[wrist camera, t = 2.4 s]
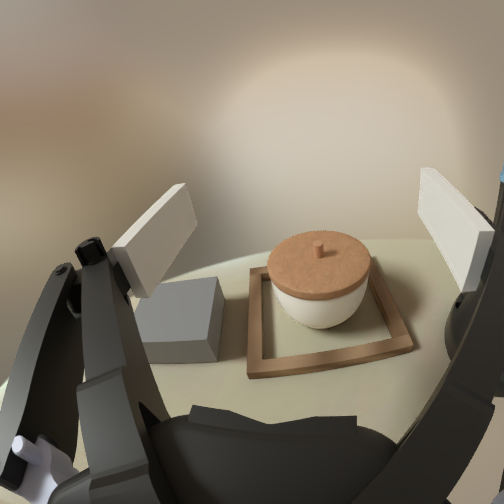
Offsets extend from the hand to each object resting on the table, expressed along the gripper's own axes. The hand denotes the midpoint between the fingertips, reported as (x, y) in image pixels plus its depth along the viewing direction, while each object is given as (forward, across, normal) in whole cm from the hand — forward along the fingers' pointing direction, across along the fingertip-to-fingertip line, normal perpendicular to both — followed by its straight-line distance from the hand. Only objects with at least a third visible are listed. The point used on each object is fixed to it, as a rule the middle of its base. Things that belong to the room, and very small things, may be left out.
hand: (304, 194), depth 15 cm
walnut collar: (+10, 0, -19) cm, 21 cm away
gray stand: (+6, -16, -19) cm, 26 cm away
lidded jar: (+10, 0, -19) cm, 21 cm away
